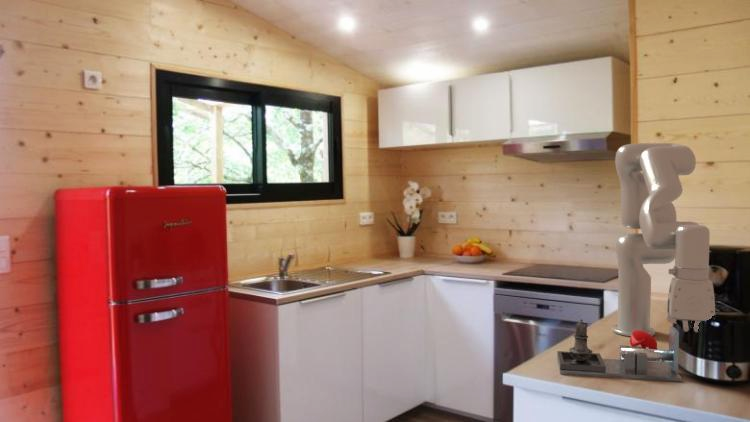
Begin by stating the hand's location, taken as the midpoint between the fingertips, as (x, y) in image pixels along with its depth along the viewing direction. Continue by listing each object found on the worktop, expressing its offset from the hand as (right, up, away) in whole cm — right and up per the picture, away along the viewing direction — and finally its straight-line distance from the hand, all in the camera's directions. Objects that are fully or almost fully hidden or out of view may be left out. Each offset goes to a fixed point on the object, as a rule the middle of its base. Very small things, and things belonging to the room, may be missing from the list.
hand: (689, 345), depth 152 cm
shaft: (-9, -6, +3) cm, 11 cm away
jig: (-17, -7, +4) cm, 19 cm away
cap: (-3, -6, +20) cm, 21 cm away
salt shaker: (-25, -6, +7) cm, 27 cm away
